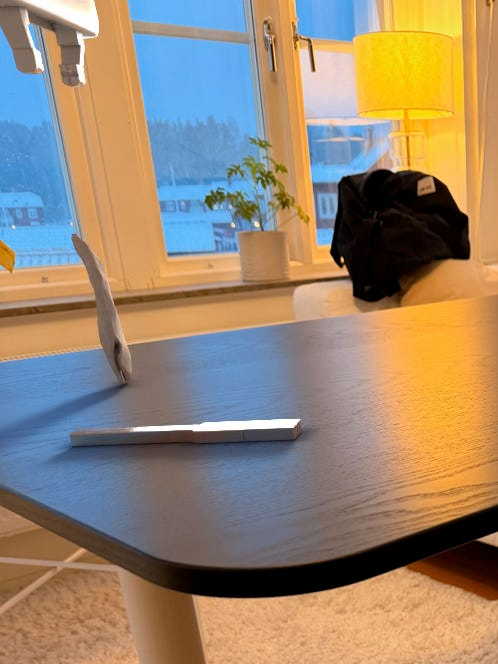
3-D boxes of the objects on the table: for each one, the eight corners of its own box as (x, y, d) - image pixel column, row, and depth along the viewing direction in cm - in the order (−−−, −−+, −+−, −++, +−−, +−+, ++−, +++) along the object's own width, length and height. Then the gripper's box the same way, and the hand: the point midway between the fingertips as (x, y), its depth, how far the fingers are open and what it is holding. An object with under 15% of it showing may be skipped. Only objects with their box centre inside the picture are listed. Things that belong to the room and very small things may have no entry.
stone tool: (143, 388, 93) (111, 232, 86) (111, 392, 91) (76, 233, 85) (128, 377, 100) (98, 232, 93) (99, 380, 99) (65, 233, 92)
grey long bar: (68, 448, 70) (64, 436, 69) (83, 439, 72) (80, 427, 72) (294, 440, 69) (293, 427, 69) (302, 431, 72) (300, 418, 71)
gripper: (33, -70, 87) (67, 94, 93) (-88, -144, 69) (-36, 66, 75) (96, -73, 87) (126, 91, 93) (-8, -148, 68) (38, 63, 75)
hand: (53, 80), depth 84 cm, fingers open, 8 cm apart
